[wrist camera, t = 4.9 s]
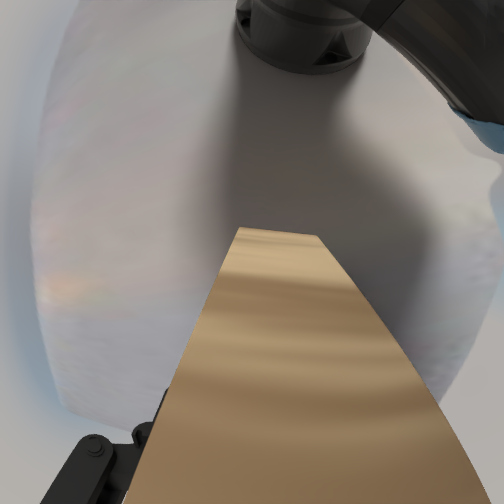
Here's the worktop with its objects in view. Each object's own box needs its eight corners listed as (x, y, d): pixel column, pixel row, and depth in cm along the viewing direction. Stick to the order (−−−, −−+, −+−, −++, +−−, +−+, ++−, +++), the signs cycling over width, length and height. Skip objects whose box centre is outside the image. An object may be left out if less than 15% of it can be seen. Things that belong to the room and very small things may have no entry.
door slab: (239, 226, 15) (110, 539, 1) (316, 235, 15) (492, 506, 1) (225, 399, 18) (193, 589, 4) (282, 405, 18) (288, 594, 4)
